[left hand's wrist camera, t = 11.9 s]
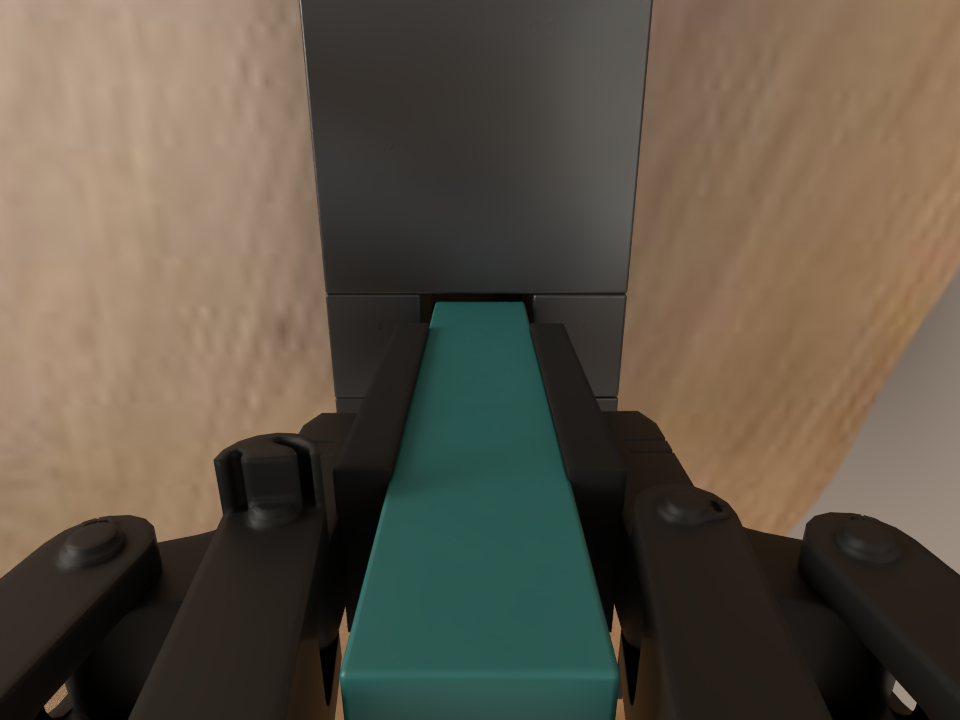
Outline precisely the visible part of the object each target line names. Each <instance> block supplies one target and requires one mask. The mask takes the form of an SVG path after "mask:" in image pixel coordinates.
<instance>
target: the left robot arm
mask: <svg viewBox="0 0 960 720" xmlns="http://www.w3.org/2000/svg"><path fill="white" fill-rule="evenodd" d="M530 330H531V334H532V338H533V342H534V346H535V349H536V353H537V357H538V361H539V365H540V369H541V373H542V377H543V381H544V385H545V389H546V393H547V397H548V400H549V404H550V408H551V412H552V416H553V420H554V424H555V428H556V432H557V436H558V440H559V444H560V448H561V452H562V455H563V459H564V463H565V467H566V471H567V475H568V479H569V481H570V484H571V487H572V490H573V494H574V498H575V502H576V506H577V510H578V514H579V518H580V521H581V525H582V529H583V533H584V537H585V541H586V545H587V548H588V552H589V556H590V560H591V564H592V568H593V572H594V576H595V579H596V583H597V587H598V591H599V595H600V599H601V603H602V606H603V610H604V614H605V618H606V622H607V626H608V630H609V632H611V631H612V621H613V610H614V604H615V608H616V611H617V615H618V618H619V622H620V625H621V637H620V647H619V656H618V668H619V672H620V680H619V689H618V698H617V699H622V697H623V702H624V711H625V720H960V575H959V574H958V573H956V572H955V571H954V570H953V569H951V568H950V567H949V566H948V565H946V564H945V563H944V562H943V561H941V560H940V559H939V558H938V557H936V556H935V555H934V554H933V553H931V552H930V551H929V550H928V549H926V548H925V547H924V546H922V545H921V544H920V543H919V542H917V541H916V540H915V539H913V538H912V537H910V536H908V535H907V534H905V533H904V532H902V531H901V530H899V529H897V528H896V527H893V526H891V525H888V524H886V523H883V522H881V521H879V520H877V519H875V518H872V517H868V516H865V515H864V516H861V515H860V514H854V513H834V512H830V513H825V514H821V515H817V516H814V517H813V518H812V519H811V520H810V521H809V522H808V523H807V524H806V528H805V532H804V536H803V540H800V539H794V538H789V537H784V536H779V535H774V534H769V533H764V532H760V531H756V530H752V529H748V528H745V527H743V526H742V524H741V522H740V520H739V518H738V516H737V514H736V513H735V511H734V510H733V509H732V508H731V506H730V505H729V504H728V503H727V502H726V501H724V500H722V499H721V498H719V497H718V496H716V495H715V494H713V493H710V492H708V491H705V490H702V489H700V488H697V487H694V485H693V484H692V482H691V480H690V479H689V477H688V475H687V474H686V472H685V470H684V469H683V467H682V465H681V464H680V462H679V460H678V459H677V457H676V455H675V454H674V453H672V449H671V447H670V445H669V444H668V442H667V441H665V437H664V436H663V434H662V432H661V431H660V429H659V427H658V426H657V424H656V423H655V422H653V421H652V420H650V419H649V418H647V417H646V416H644V415H643V414H641V413H640V412H638V411H601V409H600V407H599V405H598V402H597V400H596V398H595V395H594V393H593V391H592V389H591V386H590V384H589V382H588V379H587V377H586V375H585V372H584V370H583V368H582V365H581V363H580V361H579V359H578V356H577V354H576V352H575V349H574V347H573V345H572V342H571V340H570V338H569V336H568V333H567V331H566V329H565V326H564V324H563V323H531V328H530ZM428 332H429V323H396V325H395V328H394V330H393V332H392V335H391V337H390V339H389V341H388V344H387V346H386V348H385V351H384V353H383V355H382V358H381V360H380V362H379V365H378V367H377V369H376V371H375V374H374V376H373V378H372V381H371V383H370V385H369V388H368V390H367V392H366V394H365V397H364V399H363V401H362V404H361V406H360V408H359V411H358V413H321V414H320V415H318V416H317V417H315V418H314V419H313V420H311V421H310V422H308V423H307V424H305V425H304V426H303V427H302V429H301V431H300V432H299V434H294V433H273V434H266V435H258V436H255V437H251V438H248V439H245V440H242V441H239V442H237V443H235V444H233V445H231V446H229V447H228V448H226V449H224V450H223V451H222V452H221V453H220V454H219V455H218V456H217V457H216V458H215V459H214V465H215V471H216V477H217V482H218V488H219V494H220V499H221V505H222V510H223V517H222V519H221V521H220V523H219V525H218V527H217V529H216V530H214V531H211V532H207V533H203V534H199V535H195V536H190V537H184V538H179V539H174V540H169V541H164V542H159V543H157V538H156V534H155V530H154V526H153V525H152V524H150V523H149V522H148V521H147V520H146V519H144V518H140V517H135V516H131V515H123V516H106V517H99V519H96V518H95V519H92V520H88V521H85V522H83V523H81V524H79V525H77V526H74V527H72V528H70V529H67V530H65V531H63V532H61V533H60V534H58V535H57V536H55V537H53V538H52V539H50V540H49V541H47V542H46V543H44V544H43V545H42V546H40V547H39V548H38V549H37V550H35V551H34V552H33V553H32V554H30V555H29V556H28V557H27V558H25V559H24V560H23V561H22V562H21V563H19V564H18V565H17V566H16V567H14V568H13V569H12V570H11V571H9V572H8V573H7V574H6V575H4V576H3V577H2V578H1V579H0V720H335V712H336V703H337V695H338V686H339V677H340V675H339V674H340V668H341V660H342V656H341V647H340V637H339V627H340V624H341V620H342V617H343V613H344V609H345V606H346V614H347V625H348V632H351V628H352V624H353V620H354V616H355V613H356V609H357V605H358V601H359V597H360V593H361V589H362V585H363V582H364V578H365V574H366V570H367V566H368V562H369V558H370V555H371V551H372V547H373V543H374V539H375V535H376V531H377V527H378V524H379V520H380V516H381V512H382V508H383V504H384V500H385V497H386V493H387V489H388V485H389V483H390V481H391V477H392V473H393V469H394V466H395V462H396V458H397V454H398V450H399V446H400V442H401V438H402V434H403V430H404V426H405V422H406V418H407V415H408V411H409V407H410V403H411V399H412V395H413V391H414V387H415V383H416V379H417V375H418V371H419V367H420V364H421V360H422V356H423V352H424V348H425V344H426V340H427V336H428ZM896 680H897V681H898V682H899V683H900V685H901V686H902V687H903V688H904V689H905V690H906V691H907V692H908V693H909V695H910V696H911V697H912V698H913V699H914V700H915V701H916V702H917V704H916V707H915V709H914V711H912V710H910V709H909V708H908V707H907V706H906V705H904V704H903V703H902V702H901V701H900V699H899V698H898V697H897V696H896V695H895V694H894V693H893V691H892V690H893V687H894V684H895V681H896ZM64 683H65V685H66V688H67V691H68V694H67V695H66V697H65V698H64V699H63V700H62V701H61V702H60V704H59V705H58V706H56V707H55V708H54V709H53V710H52V711H50V712H49V713H47V712H46V711H45V709H44V705H45V704H46V703H47V702H48V701H49V700H50V699H51V697H52V696H53V695H54V694H55V693H56V692H57V691H58V690H59V688H60V687H61V686H62V685H63V684H64Z"/></svg>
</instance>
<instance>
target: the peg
mask: <svg viewBox="0 0 960 720" xmlns="http://www.w3.org/2000/svg"><path fill="white" fill-rule="evenodd" d="M339 675H340V684H341V693H342V703H343V712H344V720H615V717H616V707H617V698H618V689H619V680H620V672H619V668H618V665H617V661H616V657H615V653H614V649H613V645H612V641H611V637H610V634H609V630H608V626H607V622H606V618H605V614H604V610H603V606H602V603H601V599H600V595H599V591H598V587H597V583H596V579H595V576H594V572H593V568H592V564H591V560H590V556H589V552H588V548H587V545H586V541H585V537H584V533H583V529H582V525H581V521H580V518H579V514H578V510H577V506H576V502H575V498H574V494H573V490H572V487H571V484H570V481H569V479H568V475H567V471H566V467H565V463H564V459H563V455H562V452H561V448H560V444H559V440H558V436H557V432H556V428H555V424H554V420H553V416H552V412H551V408H550V404H549V400H548V397H547V393H546V389H545V385H544V381H543V377H542V373H541V369H540V365H539V361H538V357H537V353H536V349H535V346H534V342H533V338H532V334H531V330H530V324H529V320H528V316H527V312H526V309H525V305H524V303H523V302H436V304H435V307H434V311H433V315H432V319H431V323H430V327H429V332H428V336H427V340H426V344H425V348H424V352H423V356H422V360H421V364H420V367H419V371H418V375H417V379H416V383H415V387H414V391H413V395H412V399H411V403H410V407H409V411H408V415H407V418H406V422H405V426H404V430H403V434H402V438H401V442H400V446H399V450H398V454H397V458H396V462H395V466H394V469H393V473H392V477H391V481H390V483H389V485H388V489H387V493H386V497H385V500H384V504H383V508H382V512H381V516H380V520H379V524H378V527H377V531H376V535H375V539H374V543H373V547H372V551H371V555H370V558H369V562H368V566H367V570H366V574H365V578H364V582H363V585H362V589H361V593H360V597H359V601H358V605H357V609H356V613H355V616H354V620H353V624H352V628H351V632H350V636H349V640H348V643H347V647H346V651H345V655H344V659H343V663H342V667H341V670H340V674H339Z"/></svg>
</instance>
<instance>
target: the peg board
mask: <svg viewBox="0 0 960 720" xmlns="http://www.w3.org/2000/svg"><path fill="white" fill-rule="evenodd" d="M652 5H653V0H299V7H300V17H301V28H302V39H303V50H304V61H305V72H306V83H307V94H308V105H309V115H310V126H311V137H312V148H313V159H314V170H315V181H316V192H317V203H318V213H319V224H320V235H321V246H322V257H323V268H324V279H325V290H326V293H328V294H327V295H326V302H327V313H328V324H329V335H330V346H331V357H332V368H333V378H334V389H335V396H336V410H337V413H358V411H359V408H360V406H361V404H362V401H363V399H364V397H365V394H366V392H367V390H368V388H369V385H370V383H371V381H372V378H373V376H374V374H375V371H376V369H377V367H378V365H379V362H380V360H381V358H382V355H383V353H384V351H385V348H386V346H387V344H388V341H389V339H390V337H391V335H392V332H393V330H394V328H395V325H396V323H429V327H430V323H431V319H432V299H431V294H522V302H523V303H524V305H525V309H526V312H527V316H528V320H529V324H530V328H531V323H563V324H564V326H565V329H566V331H567V333H568V336H569V338H570V340H571V342H572V345H573V347H574V349H575V352H576V354H577V356H578V359H579V361H580V363H581V365H582V368H583V370H584V372H585V375H586V377H587V379H588V382H589V384H590V386H591V389H592V391H593V393H594V395H595V398H596V400H597V402H598V405H599V407H600V409H601V411H617V404H618V398H617V395H618V391H619V380H620V368H621V357H622V346H623V334H624V323H625V311H626V300H627V296H626V294H625V293H626V292H627V290H628V278H629V267H630V256H631V244H632V233H633V222H634V210H635V199H636V187H637V176H638V165H639V153H640V142H641V131H642V119H643V108H644V96H645V85H646V74H647V62H648V51H649V40H650V28H651V17H652Z"/></svg>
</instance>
